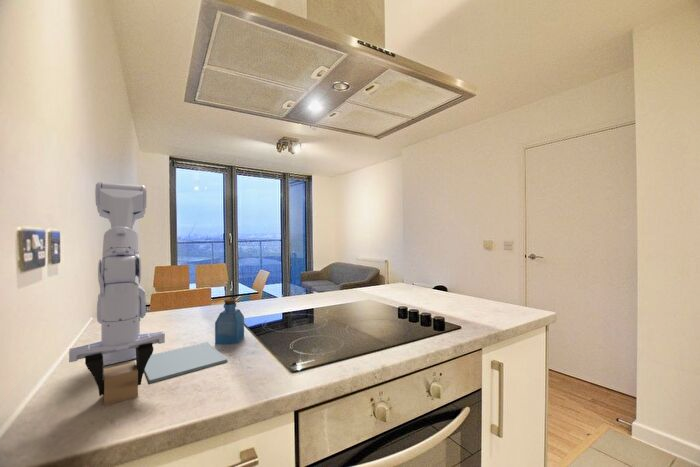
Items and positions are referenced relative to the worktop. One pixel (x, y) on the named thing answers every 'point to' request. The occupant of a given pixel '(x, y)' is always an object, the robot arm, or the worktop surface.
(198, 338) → the worktop surface
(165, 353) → the slate board
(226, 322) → the perfume bottle
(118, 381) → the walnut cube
